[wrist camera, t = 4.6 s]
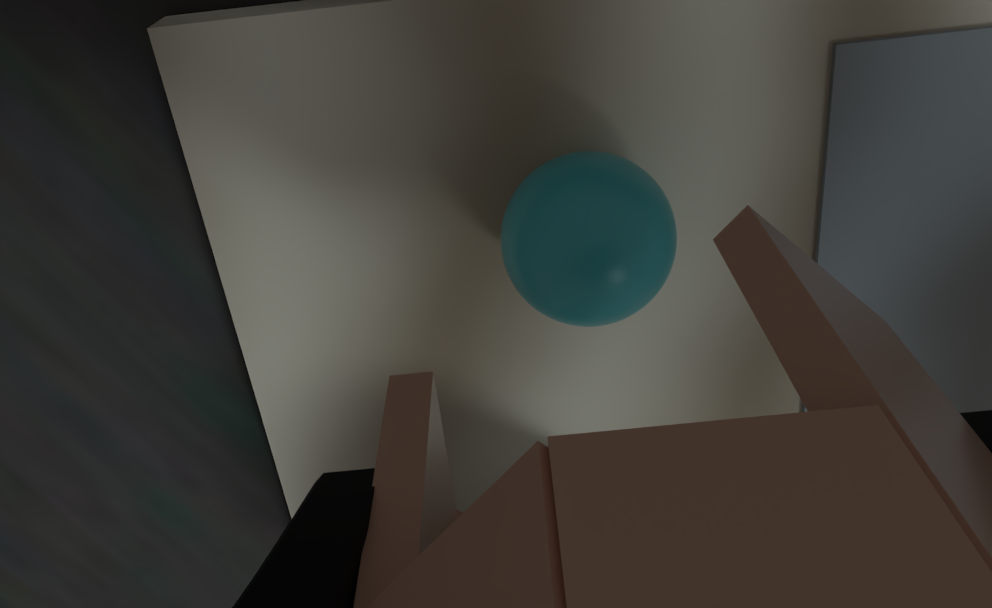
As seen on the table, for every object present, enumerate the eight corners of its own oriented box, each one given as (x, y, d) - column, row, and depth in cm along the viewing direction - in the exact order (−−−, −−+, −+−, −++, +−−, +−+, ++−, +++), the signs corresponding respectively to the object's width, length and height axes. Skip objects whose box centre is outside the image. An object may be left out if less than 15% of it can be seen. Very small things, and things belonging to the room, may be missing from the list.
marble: (658, 118, 15) (695, 180, 13) (659, 268, 17) (694, 350, 14) (490, 136, 16) (492, 201, 13) (506, 283, 17) (512, 369, 14)
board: (1449, -131, 15) (1519, -126, 14) (1150, 635, 24) (1179, 671, 23) (165, 16, 15) (144, 30, 14) (359, 703, 25) (354, 741, 24)
